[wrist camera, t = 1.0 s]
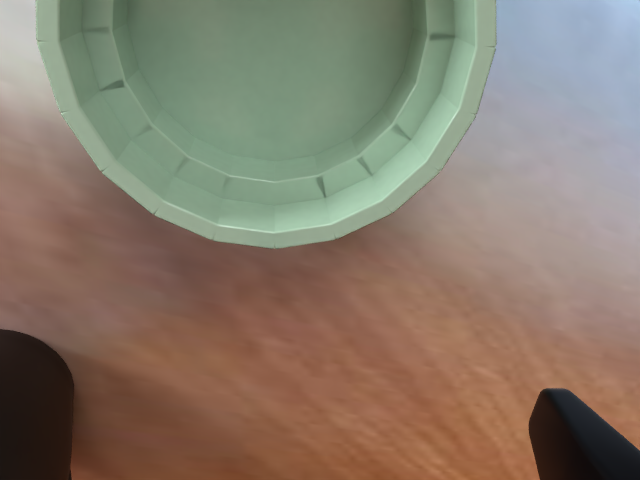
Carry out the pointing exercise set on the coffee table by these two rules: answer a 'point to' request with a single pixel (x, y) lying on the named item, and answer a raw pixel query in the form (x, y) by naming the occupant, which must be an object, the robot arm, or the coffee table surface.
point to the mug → (34, 410)
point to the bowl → (268, 105)
